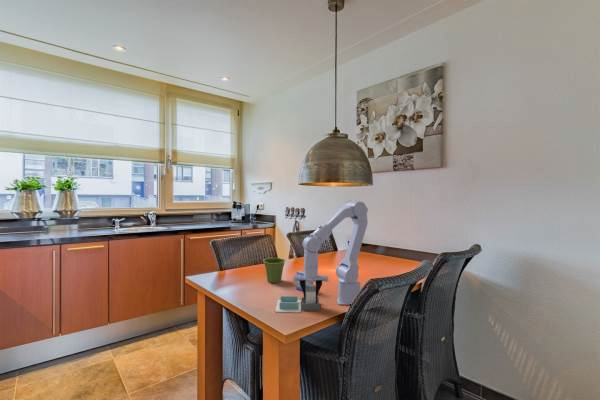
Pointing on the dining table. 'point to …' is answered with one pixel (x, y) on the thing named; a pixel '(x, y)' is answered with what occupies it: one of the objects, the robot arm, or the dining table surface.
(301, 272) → the medicine box
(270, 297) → the dining table surface
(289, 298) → the port
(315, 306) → the grey arch stand
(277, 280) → the plant pot
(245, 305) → the dining table surface
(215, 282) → the dining table surface
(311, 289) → the plug
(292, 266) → the dining table surface
